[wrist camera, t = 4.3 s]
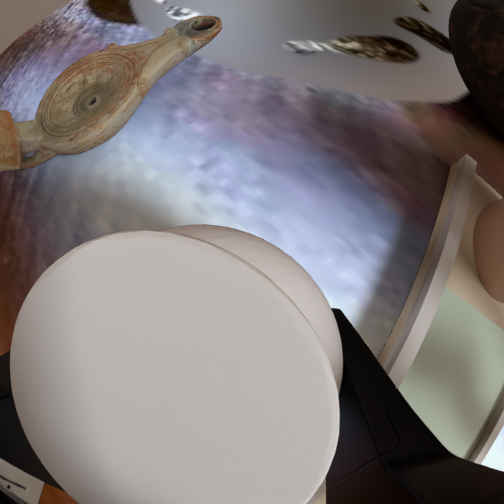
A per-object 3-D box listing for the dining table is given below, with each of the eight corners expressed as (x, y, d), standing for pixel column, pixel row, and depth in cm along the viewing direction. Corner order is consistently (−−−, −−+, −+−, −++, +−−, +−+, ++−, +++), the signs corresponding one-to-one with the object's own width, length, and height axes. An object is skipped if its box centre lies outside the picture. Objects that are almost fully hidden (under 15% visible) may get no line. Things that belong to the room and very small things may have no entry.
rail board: (353, 573, 11) (359, 587, 9) (226, 548, 12) (223, 566, 10) (539, 249, 16) (556, 244, 13) (450, 167, 17) (466, 153, 15)
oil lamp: (6, 167, 18) (-66, 118, 8) (198, 25, 20) (179, -63, 10) (26, 241, 17) (-76, 202, 7) (257, 68, 19) (254, -46, 9)
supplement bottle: (164, 281, 16) (-31, 214, 3) (282, 260, 16) (352, 108, 3) (186, 397, 15) (51, 544, 2) (304, 379, 15) (413, 540, 2)
